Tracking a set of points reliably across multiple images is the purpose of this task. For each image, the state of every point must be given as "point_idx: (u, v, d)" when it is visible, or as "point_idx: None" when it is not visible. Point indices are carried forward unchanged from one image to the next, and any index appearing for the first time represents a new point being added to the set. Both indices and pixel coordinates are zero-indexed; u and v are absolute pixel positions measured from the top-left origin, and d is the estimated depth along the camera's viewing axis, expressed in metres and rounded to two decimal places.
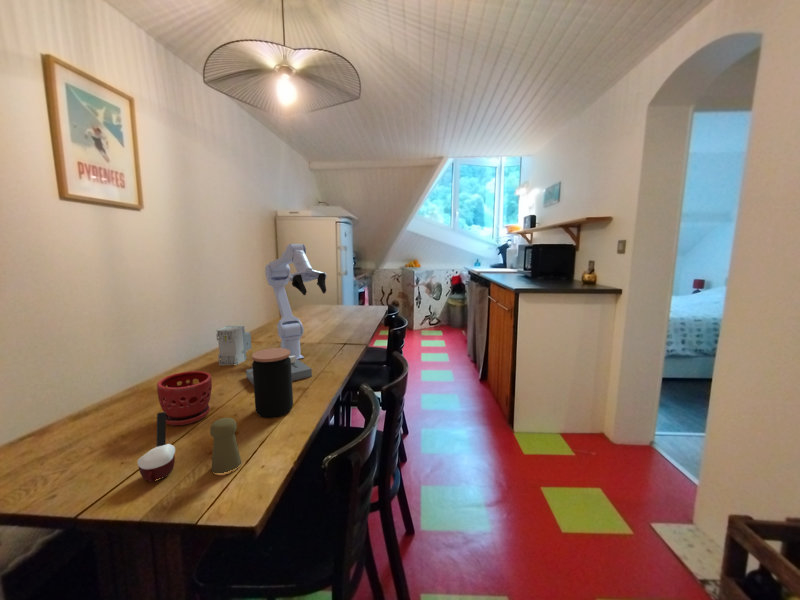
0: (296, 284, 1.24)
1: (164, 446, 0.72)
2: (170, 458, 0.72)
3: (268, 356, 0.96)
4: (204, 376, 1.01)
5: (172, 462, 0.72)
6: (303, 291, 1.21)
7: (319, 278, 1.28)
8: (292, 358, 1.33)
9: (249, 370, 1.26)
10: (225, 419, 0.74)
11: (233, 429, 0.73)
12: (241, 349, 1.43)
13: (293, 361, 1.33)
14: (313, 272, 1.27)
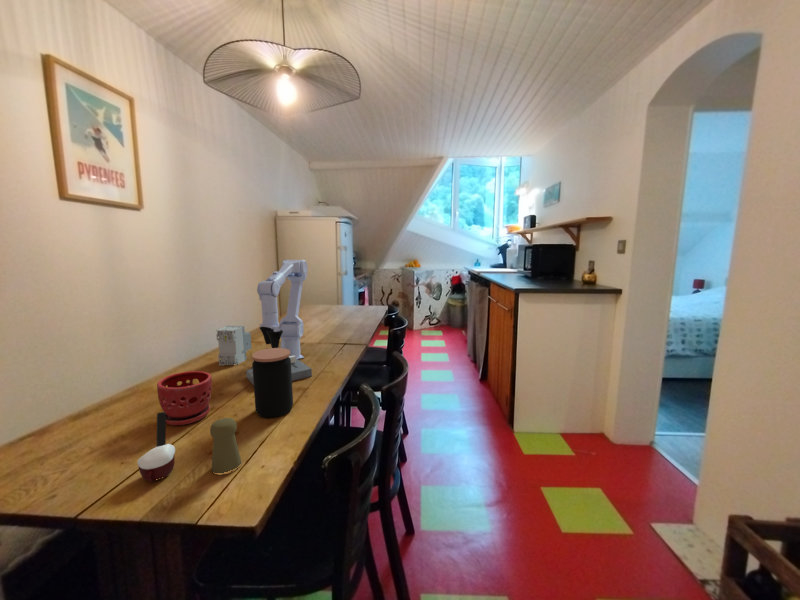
0: None
1: (164, 446, 0.72)
2: (170, 458, 0.72)
3: (268, 356, 0.96)
4: (204, 376, 1.01)
5: (172, 462, 0.72)
6: None
7: None
8: (292, 358, 1.33)
9: (249, 370, 1.26)
10: (225, 419, 0.74)
11: (233, 429, 0.73)
12: (241, 349, 1.43)
13: (293, 361, 1.33)
14: None
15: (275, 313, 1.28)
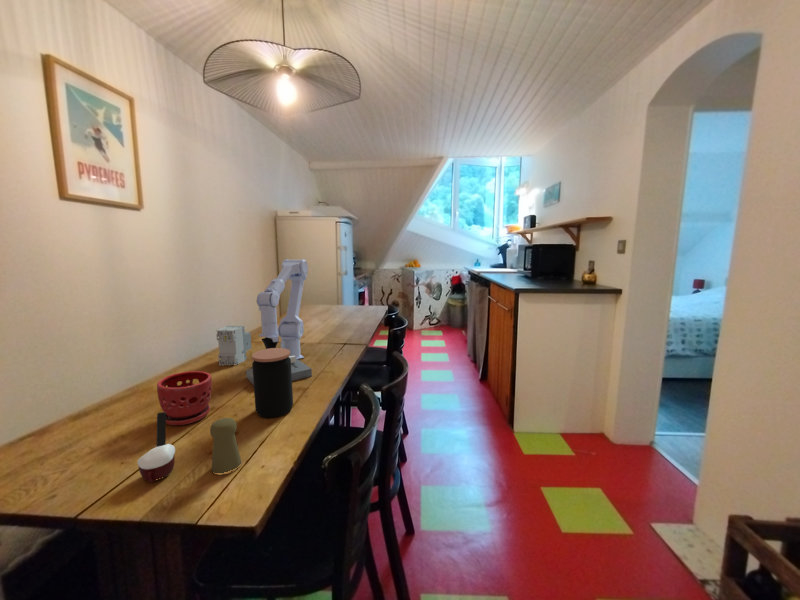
0: None
1: (164, 446, 0.72)
2: (170, 458, 0.72)
3: (268, 356, 0.96)
4: (204, 376, 1.01)
5: (172, 462, 0.72)
6: None
7: None
8: (292, 358, 1.33)
9: (249, 370, 1.26)
10: (225, 419, 0.74)
11: (233, 429, 0.73)
12: (241, 349, 1.43)
13: (293, 361, 1.33)
14: None
15: (274, 323, 1.30)
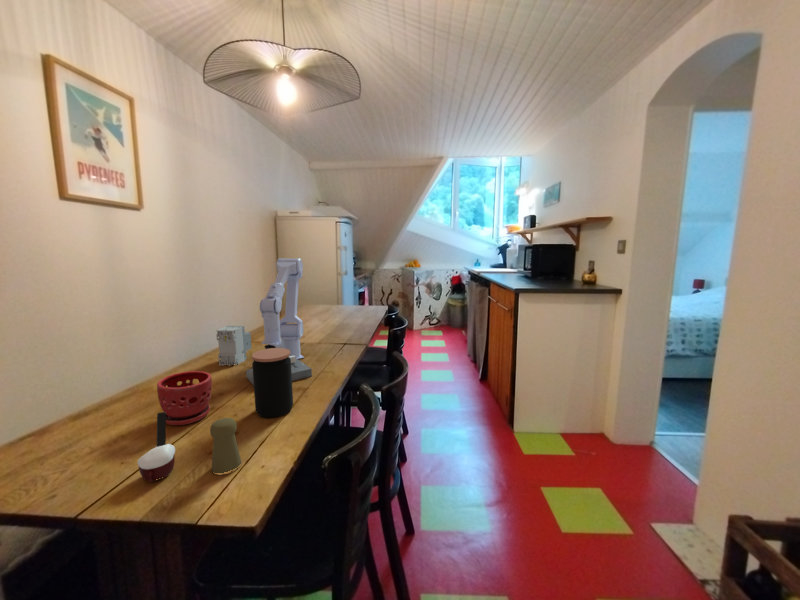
0: None
1: (164, 446, 0.72)
2: (170, 458, 0.72)
3: (268, 356, 0.96)
4: (204, 376, 1.01)
5: (172, 462, 0.72)
6: None
7: None
8: (292, 358, 1.33)
9: (249, 370, 1.26)
10: (225, 419, 0.74)
11: (233, 429, 0.73)
12: (241, 349, 1.43)
13: (293, 361, 1.33)
14: None
15: (277, 330, 1.28)
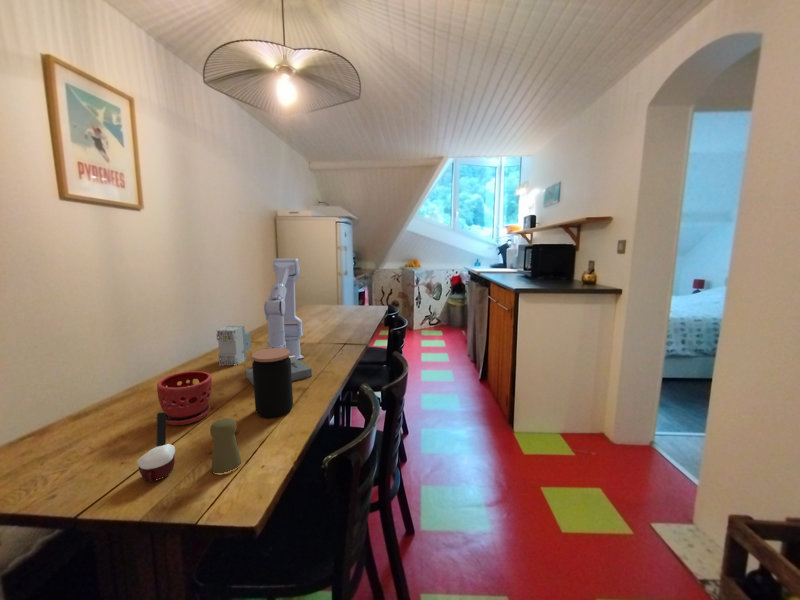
0: None
1: (164, 446, 0.72)
2: (170, 458, 0.72)
3: (268, 356, 0.96)
4: (204, 376, 1.01)
5: (172, 462, 0.72)
6: None
7: None
8: (292, 358, 1.33)
9: (249, 370, 1.26)
10: (225, 419, 0.74)
11: (233, 429, 0.73)
12: (241, 349, 1.43)
13: (293, 361, 1.33)
14: None
15: (282, 333, 1.24)
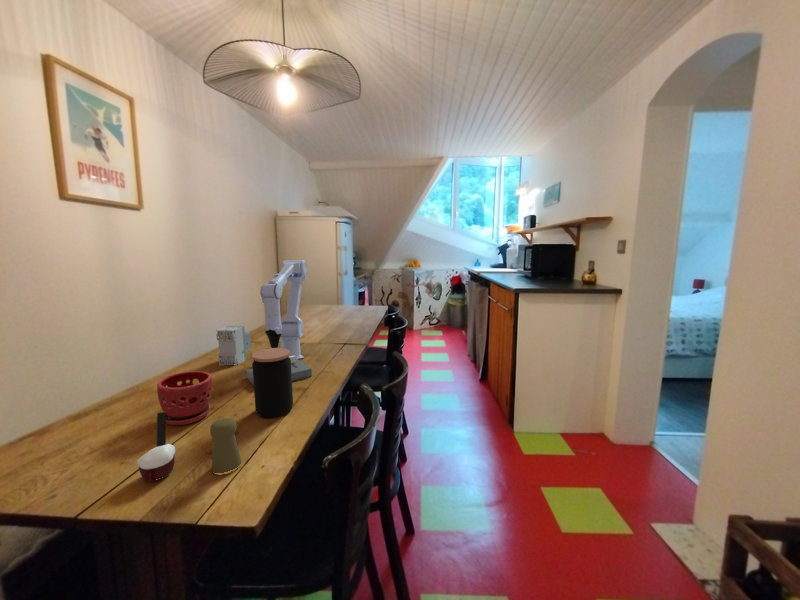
0: None
1: (164, 446, 0.72)
2: (170, 458, 0.72)
3: (268, 356, 0.96)
4: (204, 376, 1.01)
5: (172, 462, 0.72)
6: None
7: None
8: (292, 358, 1.33)
9: (249, 370, 1.26)
10: (225, 419, 0.74)
11: (233, 429, 0.73)
12: (241, 349, 1.43)
13: (293, 361, 1.33)
14: None
15: (278, 315, 1.29)
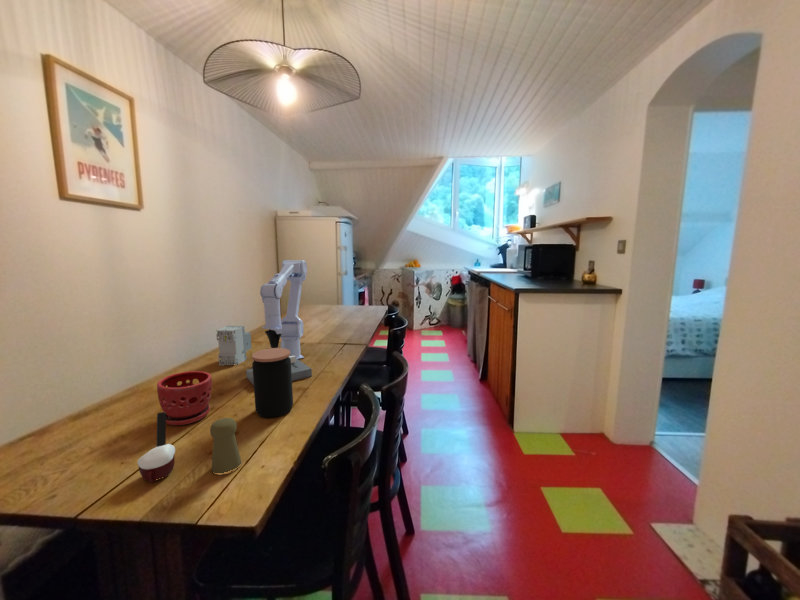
0: None
1: (164, 446, 0.72)
2: (170, 458, 0.72)
3: (268, 356, 0.96)
4: (204, 376, 1.01)
5: (172, 462, 0.72)
6: None
7: None
8: (292, 358, 1.33)
9: (249, 370, 1.26)
10: (225, 419, 0.74)
11: (233, 429, 0.73)
12: (241, 349, 1.43)
13: (293, 361, 1.33)
14: None
15: (278, 315, 1.29)
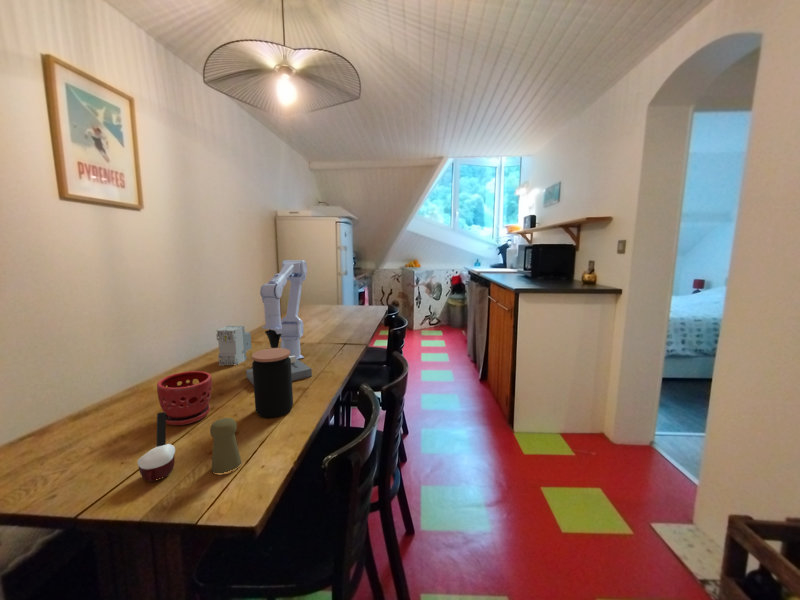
0: None
1: (164, 446, 0.72)
2: (170, 458, 0.72)
3: (268, 356, 0.96)
4: (204, 376, 1.01)
5: (172, 462, 0.72)
6: None
7: None
8: (292, 358, 1.33)
9: (249, 370, 1.26)
10: (225, 419, 0.74)
11: (233, 429, 0.73)
12: (241, 349, 1.43)
13: (293, 361, 1.33)
14: None
15: (278, 315, 1.29)
